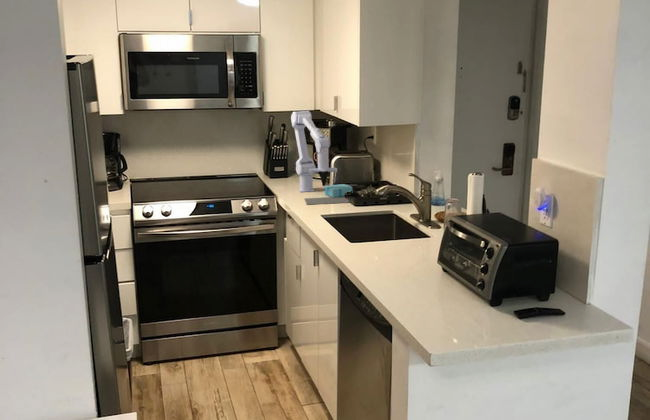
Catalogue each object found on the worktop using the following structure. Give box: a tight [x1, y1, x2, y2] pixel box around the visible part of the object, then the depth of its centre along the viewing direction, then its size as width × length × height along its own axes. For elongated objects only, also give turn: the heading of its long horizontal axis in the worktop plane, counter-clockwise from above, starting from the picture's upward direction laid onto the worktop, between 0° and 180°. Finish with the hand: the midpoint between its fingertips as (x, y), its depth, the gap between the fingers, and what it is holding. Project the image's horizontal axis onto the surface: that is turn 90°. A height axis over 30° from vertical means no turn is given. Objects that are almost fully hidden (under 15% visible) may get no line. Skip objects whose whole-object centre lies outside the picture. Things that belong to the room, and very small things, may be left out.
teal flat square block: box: [324, 183, 353, 197], centre depth 360 cm, size 12×4×12 cm
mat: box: [304, 196, 351, 206], centre depth 347 cm, size 14×22×1 cm, turn 97°
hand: (323, 185), depth 357 cm, fingers closed
